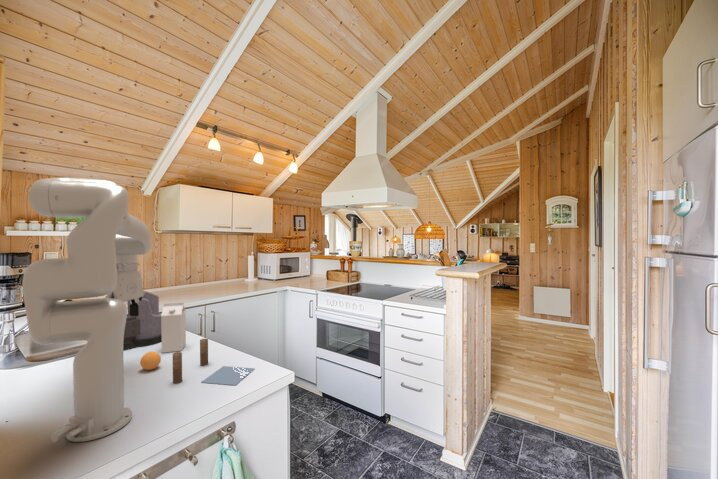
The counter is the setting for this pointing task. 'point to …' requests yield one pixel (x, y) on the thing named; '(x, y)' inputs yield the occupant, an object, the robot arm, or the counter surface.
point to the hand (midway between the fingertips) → (125, 318)
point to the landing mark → (226, 376)
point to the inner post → (177, 367)
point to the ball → (150, 360)
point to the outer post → (203, 352)
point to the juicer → (143, 324)
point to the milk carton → (173, 327)
